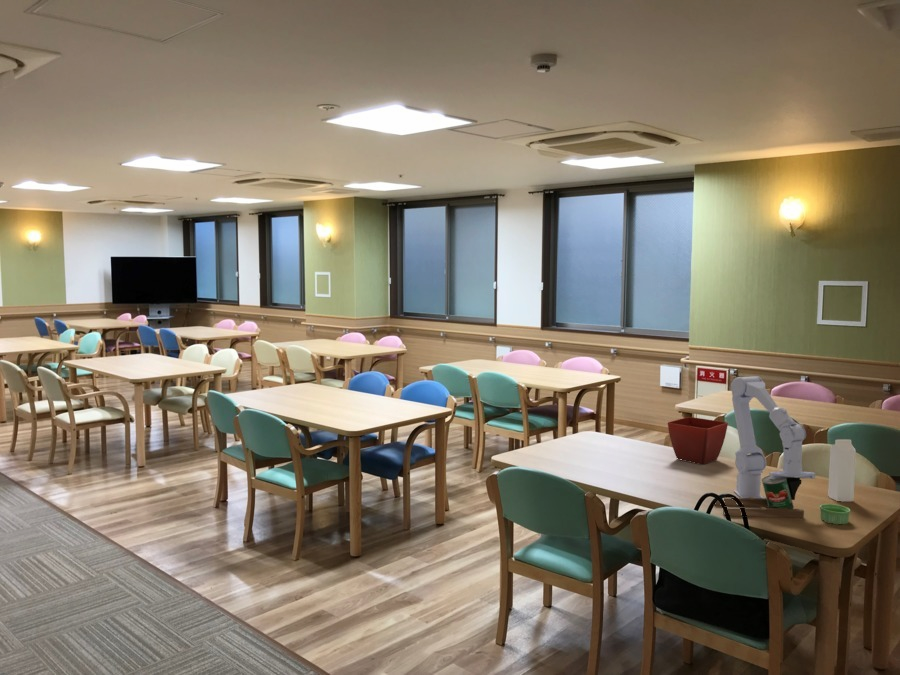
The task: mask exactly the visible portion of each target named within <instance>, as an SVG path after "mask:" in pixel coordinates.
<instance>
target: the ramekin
mask: <svg viewBox="0 0 900 675" xmlns="http://www.w3.org/2000/svg"><path fill="white" fill-rule="evenodd" d="M819 509H820V519H821V520H822V521H823V520H824V521H823V522H825V521H826V522H825V523H827V522H829V523H828V524H831V523H833V524H832V525H838V524H843V525H846V524H848V523H849V521H850V514H851V509H850V508H849V507H848V506H844V505H841V504H834V503H823V504H820V505H819Z"/></svg>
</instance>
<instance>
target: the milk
mask: <svg viewBox="0 0 900 675" xmlns="http://www.w3.org/2000/svg"><path fill="white" fill-rule="evenodd" d="M834 441H835V442H834V443H833V444H831V445H830V449H829V450H830V451H829V471H828V489H827V490H828V493H827V497H828V496H829V497H828V498H830V499H832V500H833V501H835V500H836V501H835V502H837V501H841V502H854V497H855V496H854V491H855V478H856V477H855V476H856V475H855V471H856V456H857V455H856V454H857V450H856V448H855V447H854V446H853V443H852V439H845V438H844V439H835V440H834Z"/></svg>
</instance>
